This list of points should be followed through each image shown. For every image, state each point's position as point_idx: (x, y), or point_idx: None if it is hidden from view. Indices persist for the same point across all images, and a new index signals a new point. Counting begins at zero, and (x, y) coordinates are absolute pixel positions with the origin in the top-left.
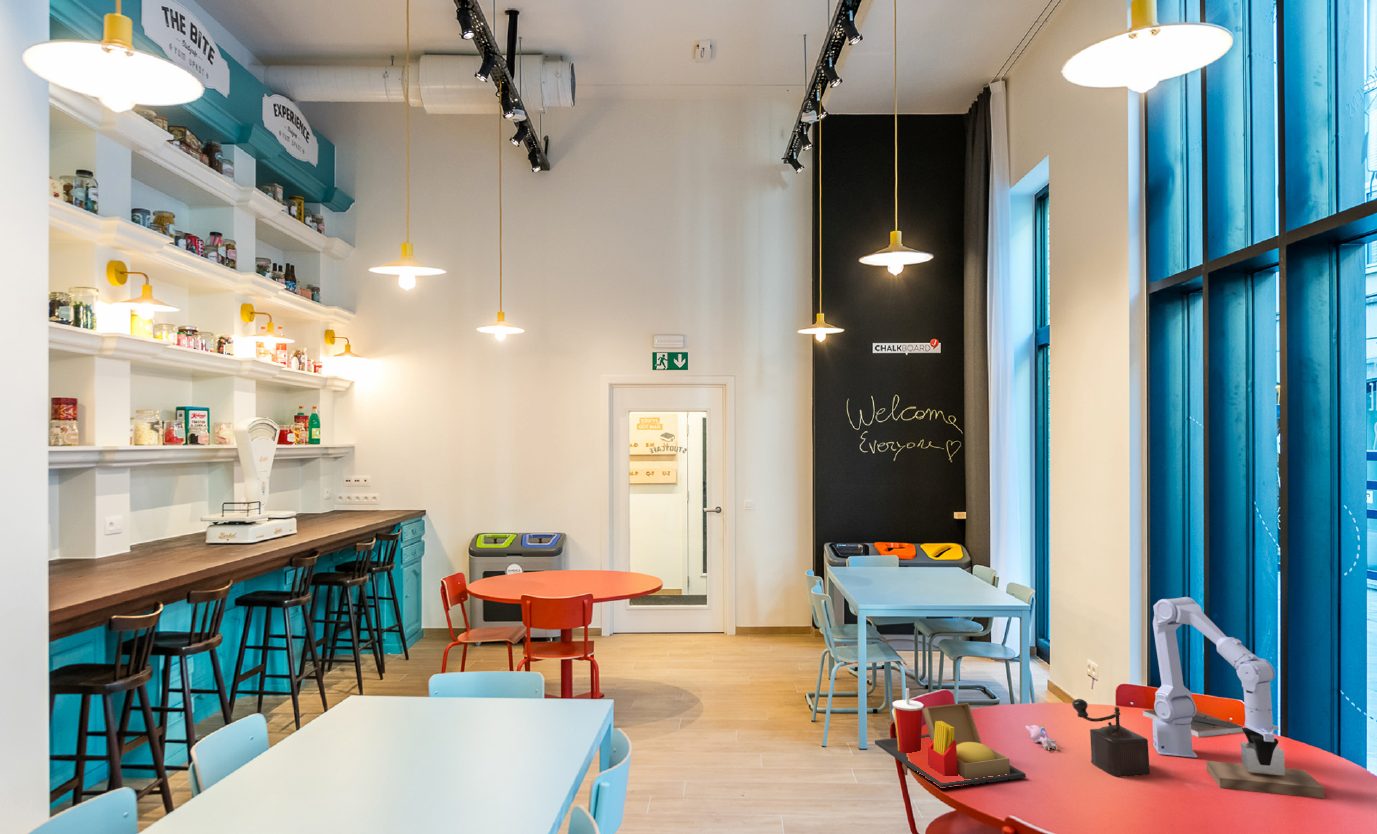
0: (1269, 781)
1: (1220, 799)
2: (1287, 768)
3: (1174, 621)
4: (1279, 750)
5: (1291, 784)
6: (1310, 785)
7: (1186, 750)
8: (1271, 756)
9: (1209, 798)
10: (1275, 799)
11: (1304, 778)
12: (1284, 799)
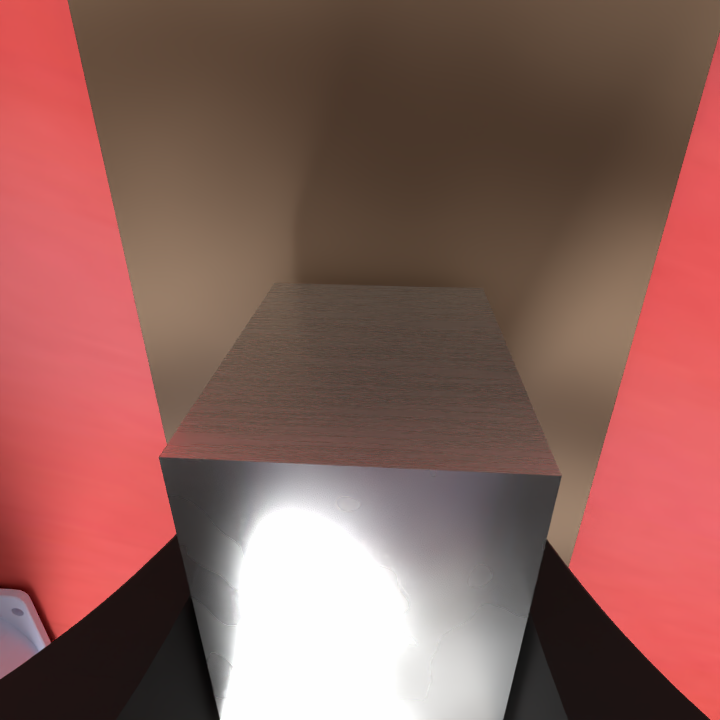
0: (575, 435)
1: (709, 659)
2: (102, 128)
3: None
4: (511, 523)
5: (646, 275)
6: (671, 59)
7: (5, 657)
8: (570, 573)
9: (694, 691)
10: (713, 403)
11: (416, 40)
12: (714, 342)
